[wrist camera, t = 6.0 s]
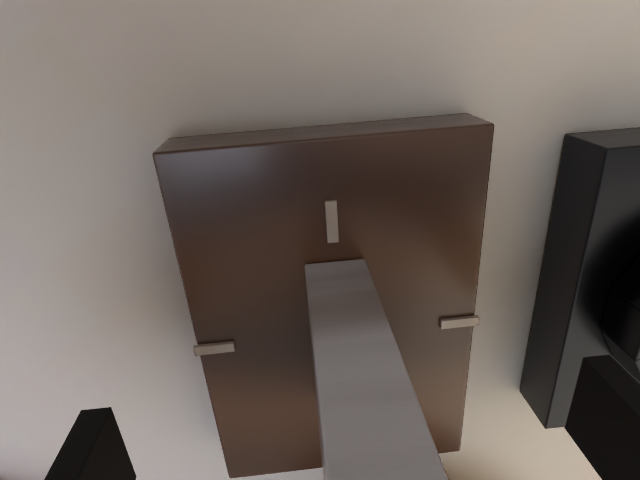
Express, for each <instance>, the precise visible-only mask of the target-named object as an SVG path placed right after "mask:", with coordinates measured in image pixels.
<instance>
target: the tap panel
mask: <svg viewBox="0 0 640 480" xmlns="http://www.w3.org/2000/svg"><path fill="white" fill-rule="evenodd" d="M493 133H494V124H493V123H490V122H488V121H485V120H483V119H481V118H478V117H476V116H473V115H471V114H468V113H464V114H452V115H440V116H428V117H416V118H404V119H392V120H381V121H369V122H357V123H345V124H333V125H321V126H309V127H297V128H285V129H273V130H262V131H250V132H238V133H226V134H214V135H202V136H190V137H178V138H169V139H168V140H166V141H165V142H164V143H163V144H162V145H161V146H160V147H159V148H158V149H157V150H156V151H154V152H153V159H154V164H155V168H156V172H157V176H158V180H159V185H160V189H161V193H162V197H163V201H164V206H165V210H166V214H167V218H168V223H169V227H170V231H171V235H172V239H173V244H174V248H175V252H176V256H177V260H178V265H179V269H180V273H181V277H182V281H183V286H184V290H185V294H186V298H187V302H188V307H189V311H190V315H191V319H192V323H193V328H194V332H195V336H196V340H197V344H198V345H194V347H193V349H194V353H195V356H197V355H200V357H201V361H202V365H203V370H204V374H205V378H206V382H207V386H208V391H209V395H210V399H211V403H212V407H213V412H214V416H215V420H216V424H217V428H218V433H219V437H220V441H221V445H222V449H223V454H224V458H225V462H226V466H227V470H228V475H229V478H238V477H247V476H255V475H263V474H271V473H280V472H288V471H296V470H305V469H313V468H321V467H322V457H321V447H320V436H319V426H318V416H317V406H316V395H315V383H314V371H313V359H312V348H311V336H310V324H309V312H308V301H307V289H306V277H305V265H306V264H315V263H326V262H336V261H347V260H358V259H364V260H365V261H366V264H367V267H368V269H369V272H370V275H371V277H372V280H373V282H374V285H375V288H376V290H377V293H378V296H379V298H380V301H381V304H382V306H383V309H384V312H385V314H386V317H387V319H388V322H389V325H390V327H391V330H392V333H393V335H394V338H395V341H396V343H397V346H398V348H399V351H400V354H401V356H402V359H403V362H404V364H405V367H406V370H407V372H408V375H409V378H410V380H411V383H412V385H413V388H414V391H415V393H416V396H417V399H418V401H419V404H420V407H421V409H422V412H423V415H424V417H425V420H426V422H427V425H428V428H429V430H430V433H431V436H432V438H433V441H434V444H435V446H436V449H437V452H438V453H445V452H453V451H459V450H460V444H461V435H462V425H463V416H464V406H465V397H466V387H467V378H468V369H469V359H470V350H471V340H472V331H473V326H477V325H479V316H478V315H474V312H475V303H476V293H477V284H478V274H479V265H480V256H481V246H482V237H483V227H484V218H485V208H486V199H487V190H488V180H489V171H490V161H491V152H492V142H493Z"/></svg>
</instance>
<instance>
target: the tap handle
mask: <svg viewBox="0 0 640 480" xmlns="http://www.w3.org/2000/svg"><path fill="white" fill-rule="evenodd" d="M305 277H306V289H307V301H308V312H309V324H310V336H311V348H312V359H313V371H314V383H315V395H316V406H317V416H318V426H319V436H320V447H321V457H322V467H323V477H324V480H448V478H447V475H446V473H445V470H444V467H443V465H442V462H441V459H440V457H439V454H438V452H437V449H436V446H435V444H434V441H433V438H432V436H431V433H430V430H429V428H428V425H427V422H426V420H425V417H424V415H423V412H422V409H421V407H420V404H419V401H418V399H417V396H416V393H415V391H414V388H413V385H412V383H411V380H410V378H409V375H408V372H407V370H406V367H405V364H404V362H403V359H402V356H401V354H400V351H399V348H398V346H397V343H396V341H395V338H394V335H393V333H392V330H391V327H390V325H389V322H388V319H387V317H386V314H385V312H384V309H383V306H382V304H381V301H380V298H379V296H378V293H377V290H376V288H375V285H374V282H373V280H372V277H371V275H370V272H369V269H368V267H367V264H366V261H365V260H364V259H358V260H347V261H336V262H326V263H315V264H306V265H305Z"/></svg>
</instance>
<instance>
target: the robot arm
mask: <svg viewBox="0 0 640 480" xmlns="http://www.w3.org/2000/svg"><path fill="white" fill-rule="evenodd" d="M565 429H566V430H567V432H568V433H569V435H570V436H571V437H572V439H573V440H574V441H575V443H576V444H577V446H578V447H579V448H580V450H581V451H582V453H583V454H584V455H585V457H586V458H587V459H588V461H589V462H590V464H591V465H592V466H593V468H594V469H595V470H596V472H597V473H598V475H599V476H600V477H601V479H602V480H640V383H639V382H638V381H637V380H635V379H634V378H633V377H632V376H631V375H630V374H629V373H628V372H627V371H626V370H625V369H624V368H623V367H622V366H621V365H620V364H619V363H618V362H617V361H616V360H615V359H614V358H613V357H612V356H611V355H610V354H609V355H600V356H590V357H583V360H582V363H581V367H580V371H579V375H578V379H577V383H576V386H575V390H574V394H573V398H572V402H571V406H570V409H569V413H568V417H567V421H566V425H565ZM135 479H136V474H135V472H134V469H133V466H132V463H131V461H130V458H129V455H128V452H127V450H126V447H125V444H124V442H123V439H122V436H121V433H120V431H119V428H118V425H117V422H116V420H115V417H114V414H113V411H112V409H111V407H108V408H99V409H89V410H81V412H80V414H79V415H78V417H77V419H76V421H75V423H74V425H73V427H72V429H71V431H70V432H69V434H68V436H67V438H66V440H65V442H64V444H63V446H62V447H61V449H60V451H59V453H58V455H57V457H56V459H55V461H54V462H53V464H52V466H51V468H50V470H49V472H48V474H47V476H46V477H45V479H44V480H135Z"/></svg>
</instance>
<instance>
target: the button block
mask: <svg viewBox="0 0 640 480" xmlns="http://www.w3.org/2000/svg"><path fill="white" fill-rule="evenodd" d="M609 354H610V355H611V356H612V357H613V358H614V359H615V360H616V361H617V362H618V363H619V364H620V365H621V366H622V367H623V368H624V369H625V370H626V371H627V372H628V373H629V374H630V375H631V376H632V377H633V378H634V379H635V380H637V381H638V382H639V383H640V128H630V129H619V130H607V131H596V132H584V133H573V134H566V135H565V139H564V145H563V150H562V156H561V162H560V167H559V173H558V179H557V184H556V190H555V196H554V201H553V207H552V212H551V218H550V224H549V229H548V235H547V241H546V246H545V252H544V257H543V263H542V269H541V274H540V280H539V286H538V291H537V297H536V302H535V308H534V314H533V319H532V325H531V331H530V336H529V342H528V347H527V353H526V359H525V364H524V370H523V376H522V381H521V387H520V392H521V394H522V395H523V397H524V398H525V400H526V401H527V403H528V404H529V405H530V407H531V408H532V410H533V411H534V413H535V414H536V416H537V417H538V419H539V420H540V422H541V423H542V425H543V426H544V428H545V429H548V428H557V427H565V425H566V421H567V417H568V413H569V409H570V406H571V402H572V398H573V394H574V390H575V386H576V383H577V379H578V375H579V371H580V367H581V363H582V360H583V357H590V356H600V355H609Z"/></svg>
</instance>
